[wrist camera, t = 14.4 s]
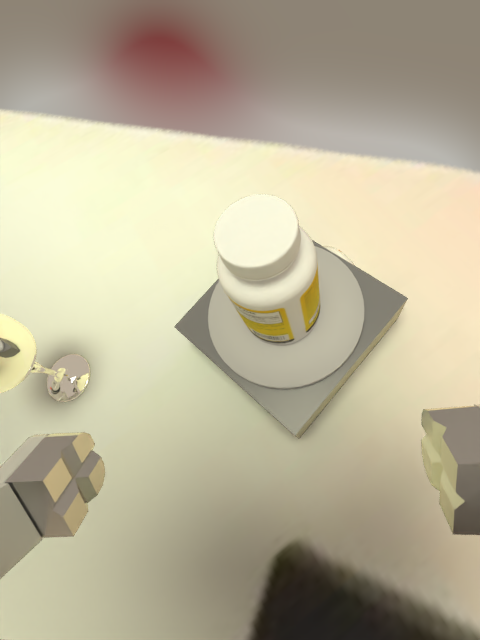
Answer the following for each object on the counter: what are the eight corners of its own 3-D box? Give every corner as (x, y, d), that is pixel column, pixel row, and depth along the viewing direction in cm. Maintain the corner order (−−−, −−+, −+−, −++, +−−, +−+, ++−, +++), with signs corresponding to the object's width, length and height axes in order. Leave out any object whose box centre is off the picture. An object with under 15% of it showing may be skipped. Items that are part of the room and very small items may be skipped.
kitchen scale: (192, 341, 31) (170, 323, 27) (284, 239, 32) (278, 206, 28) (299, 438, 26) (293, 435, 22) (401, 313, 28) (415, 286, 23)
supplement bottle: (296, 263, 26) (280, 162, 17) (335, 323, 24) (340, 243, 15) (231, 297, 26) (182, 216, 17) (264, 360, 24) (226, 304, 15)
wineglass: (81, 335, 34) (-36, 278, 23) (107, 381, 32) (-10, 343, 21) (32, 373, 34) (-109, 334, 23) (55, 423, 31) (-91, 405, 20)
